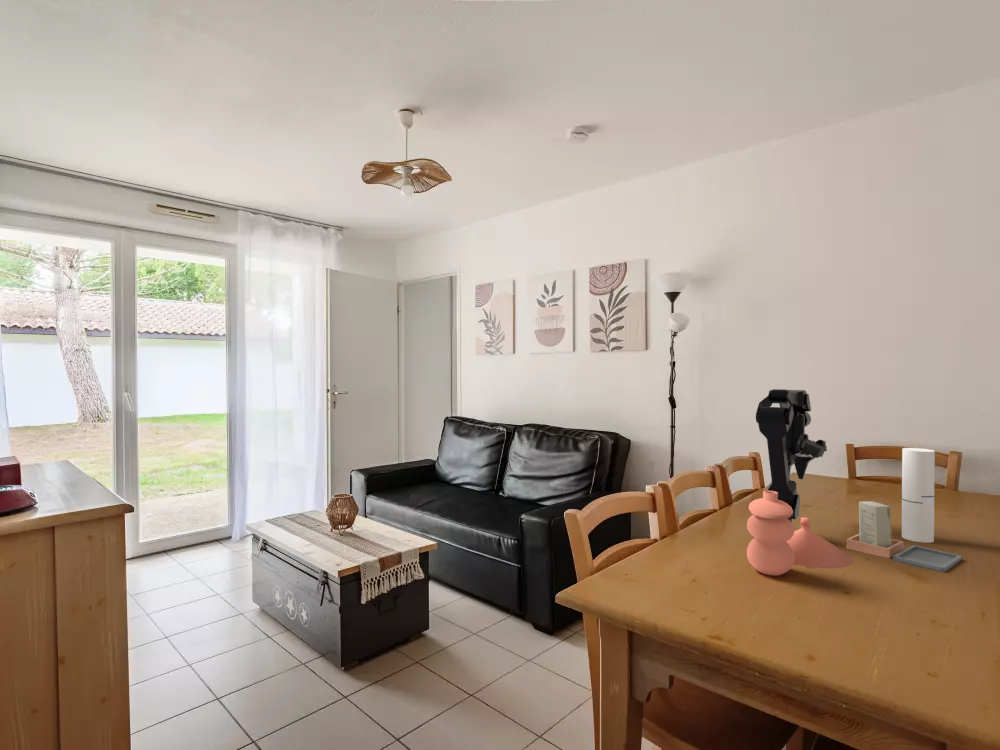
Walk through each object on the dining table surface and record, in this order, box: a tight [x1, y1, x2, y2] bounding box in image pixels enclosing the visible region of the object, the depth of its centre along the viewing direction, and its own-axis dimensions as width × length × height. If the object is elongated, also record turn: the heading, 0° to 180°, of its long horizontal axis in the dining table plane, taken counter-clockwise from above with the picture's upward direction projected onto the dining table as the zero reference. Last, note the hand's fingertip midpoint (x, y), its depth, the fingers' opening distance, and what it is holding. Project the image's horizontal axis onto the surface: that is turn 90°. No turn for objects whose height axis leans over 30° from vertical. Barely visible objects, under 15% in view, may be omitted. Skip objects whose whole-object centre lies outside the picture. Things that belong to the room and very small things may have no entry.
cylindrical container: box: [901, 447, 936, 544], centre depth 149 cm, size 7×7×25 cm
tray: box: [892, 544, 963, 573], centre depth 132 cm, size 14×10×1 cm
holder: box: [845, 533, 905, 559], centre depth 140 cm, size 10×10×2 cm
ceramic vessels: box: [746, 490, 854, 576], centre depth 133 cm, size 35×21×19 cm, turn 129°
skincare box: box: [858, 500, 892, 548], centre depth 140 cm, size 6×4×12 cm
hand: (793, 480), depth 165 cm, fingers open, 9 cm apart
